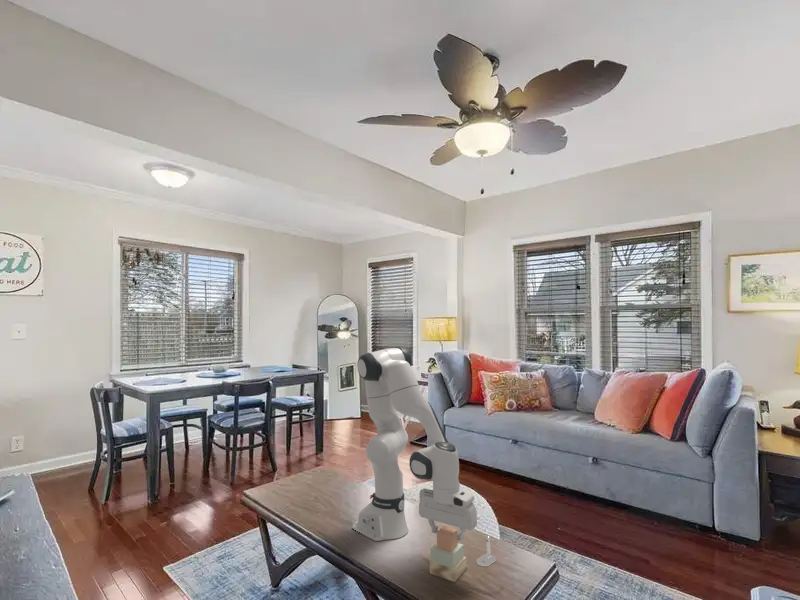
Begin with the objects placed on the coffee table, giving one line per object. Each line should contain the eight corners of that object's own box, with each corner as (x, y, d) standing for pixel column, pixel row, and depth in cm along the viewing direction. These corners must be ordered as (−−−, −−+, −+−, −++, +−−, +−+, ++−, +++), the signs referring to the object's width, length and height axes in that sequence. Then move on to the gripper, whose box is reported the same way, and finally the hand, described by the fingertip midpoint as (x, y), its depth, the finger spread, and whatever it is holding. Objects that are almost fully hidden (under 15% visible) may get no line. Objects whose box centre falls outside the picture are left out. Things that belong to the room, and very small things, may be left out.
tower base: (429, 574, 142) (429, 561, 142) (443, 561, 150) (442, 549, 150) (454, 583, 137) (454, 570, 137) (467, 569, 145) (466, 556, 145)
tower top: (430, 561, 143) (430, 548, 143) (442, 550, 149) (442, 538, 149) (452, 568, 138) (452, 555, 138) (463, 557, 145) (463, 544, 145)
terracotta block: (437, 547, 143) (436, 532, 144) (444, 541, 148) (443, 526, 148) (450, 551, 141) (450, 535, 141) (457, 544, 145) (457, 529, 145)
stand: (473, 562, 148) (486, 553, 153) (485, 568, 144) (499, 558, 150) (472, 539, 148) (486, 531, 154) (485, 544, 145) (498, 536, 150)
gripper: (414, 490, 148) (415, 532, 147) (470, 503, 136) (471, 548, 136) (424, 484, 153) (425, 524, 152) (478, 496, 142) (479, 540, 141)
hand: (447, 536), depth 144 cm, fingers open, 8 cm apart
